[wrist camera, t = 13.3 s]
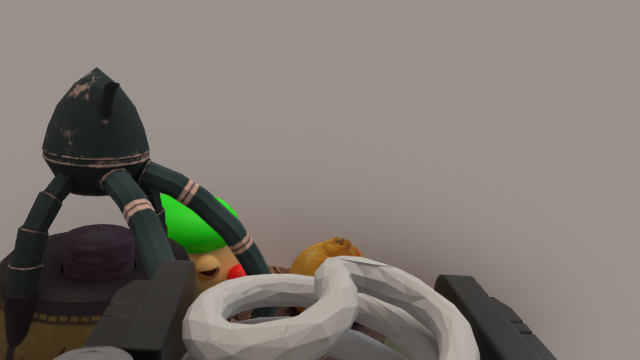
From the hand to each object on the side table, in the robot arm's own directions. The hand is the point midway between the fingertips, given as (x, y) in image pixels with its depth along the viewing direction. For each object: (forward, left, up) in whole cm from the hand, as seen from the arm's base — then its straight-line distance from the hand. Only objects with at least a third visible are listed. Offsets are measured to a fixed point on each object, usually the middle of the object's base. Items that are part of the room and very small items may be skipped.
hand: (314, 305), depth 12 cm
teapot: (+20, -10, -20) cm, 30 cm away
